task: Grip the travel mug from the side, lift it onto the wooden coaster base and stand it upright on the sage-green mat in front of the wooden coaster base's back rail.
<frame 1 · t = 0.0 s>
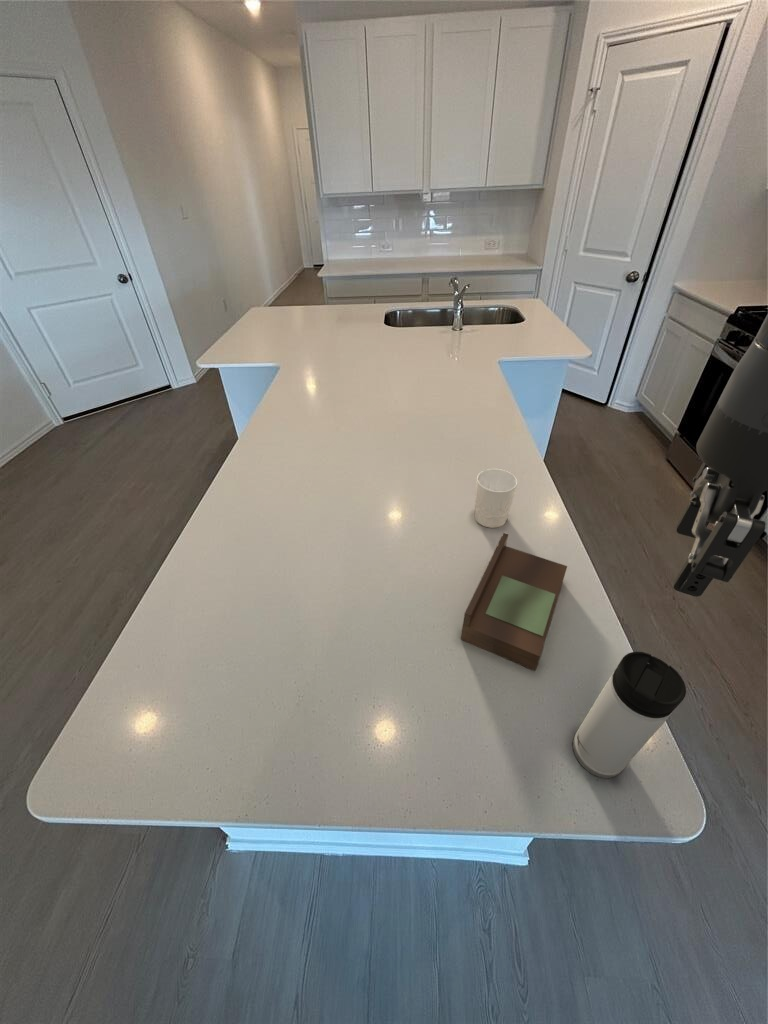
hand: (686, 560, 43), 30 cm above the counter, tool pointing down, fingers open, 8 cm apart
travel mug: (596, 754, 58), on the counter
wooden coaster base: (514, 608, 76), on the counter
white cup: (490, 518, 94), on the counter
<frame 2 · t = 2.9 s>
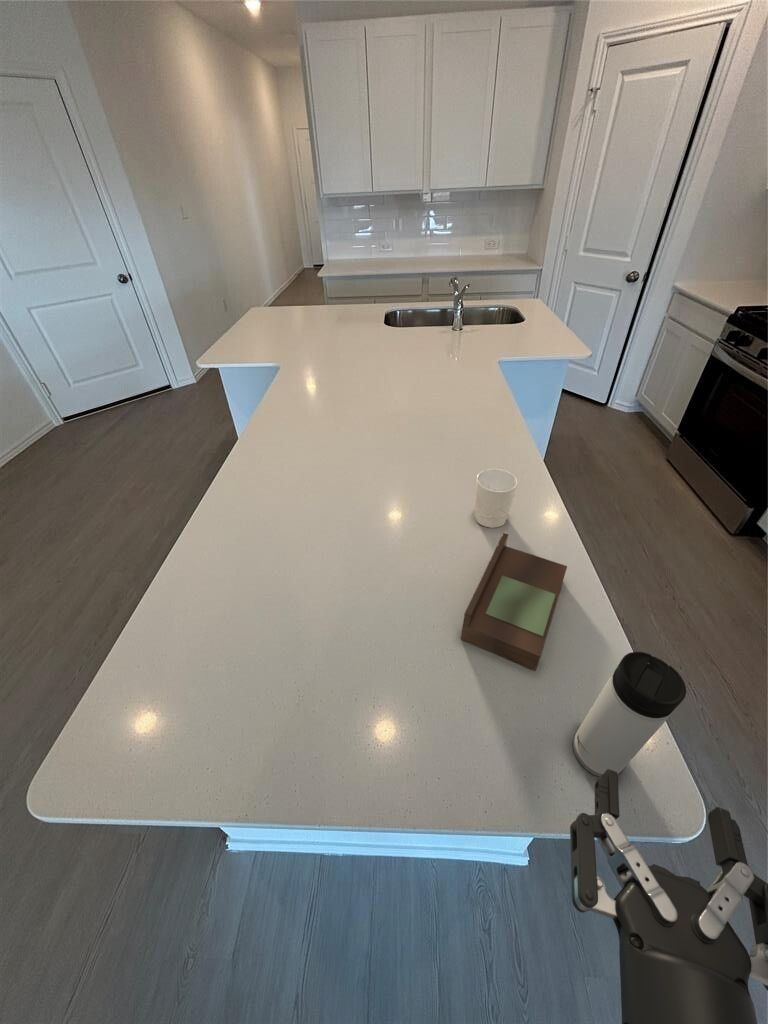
hand: (661, 791, 38), 18 cm above the counter, tool horizontal, fingers open, 8 cm apart
nothing on the counter moved.
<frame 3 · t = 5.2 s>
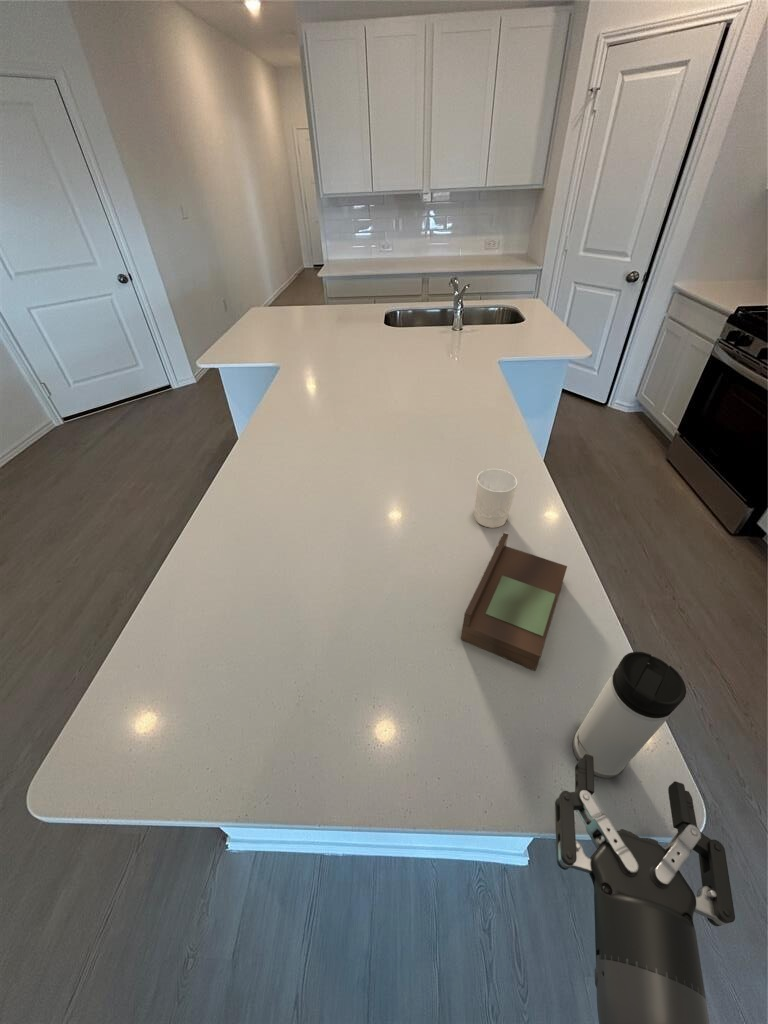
hand: (630, 770, 46), 11 cm above the counter, tool horizontal, fingers open, 8 cm apart
nothing on the counter moved.
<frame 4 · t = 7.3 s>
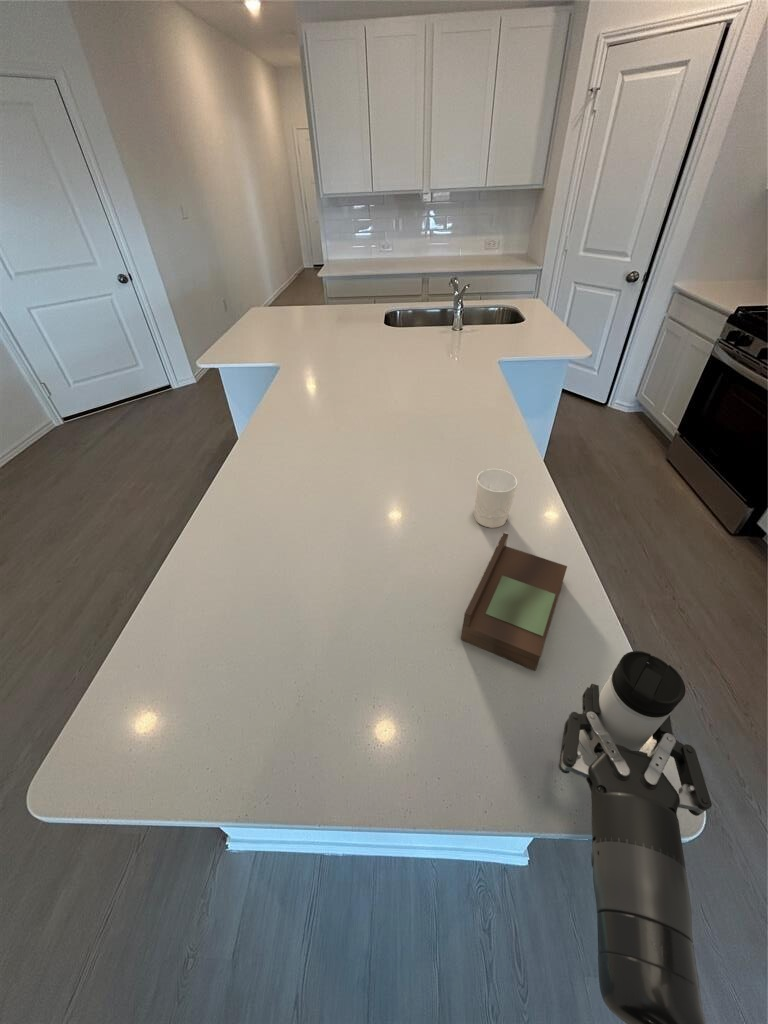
hand: (623, 696, 52), 11 cm above the counter, tool horizontal, fingers closed on travel mug, 6 cm apart
travel mug: (596, 754, 58), on the counter, touching gripper
everything else where it was.
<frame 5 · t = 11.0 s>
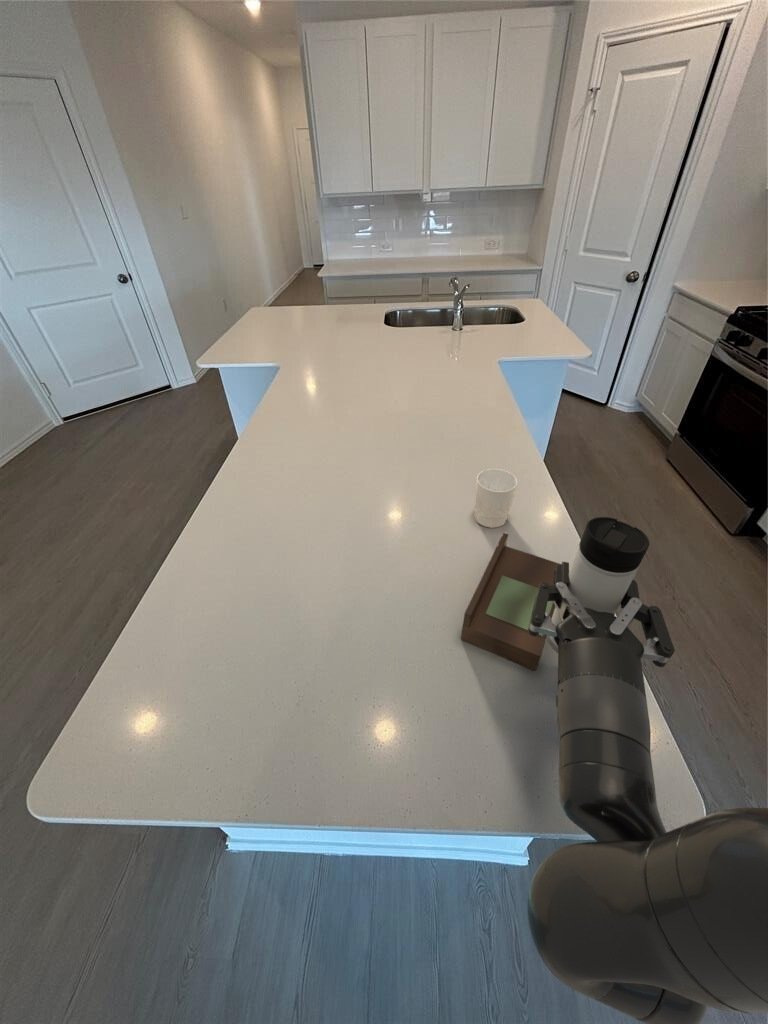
hand: (593, 572, 53), 22 cm above the counter, tool horizontal, fingers closed on travel mug, 6 cm apart
travel mug: (569, 642, 58), point 10 cm above the counter, touching gripper
everything else where it was.
when the fingers open (15 cm above the counter, at t = 14.8 s): travel mug stays where it is, resting on wooden coaster base.
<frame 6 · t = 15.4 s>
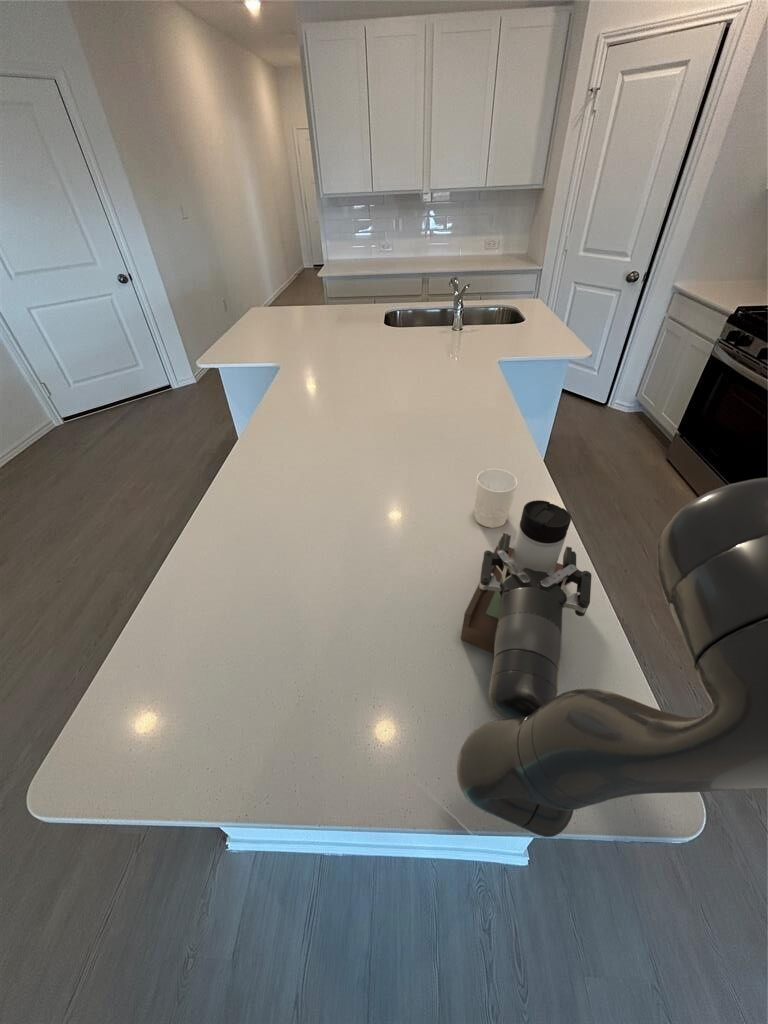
hand: (536, 544, 65), 16 cm above the counter, tool horizontal, fingers open, 8 cm apart
travel mug: (520, 605, 71), point 4 cm above the counter, touching wooden coaster base
everything else where it was.
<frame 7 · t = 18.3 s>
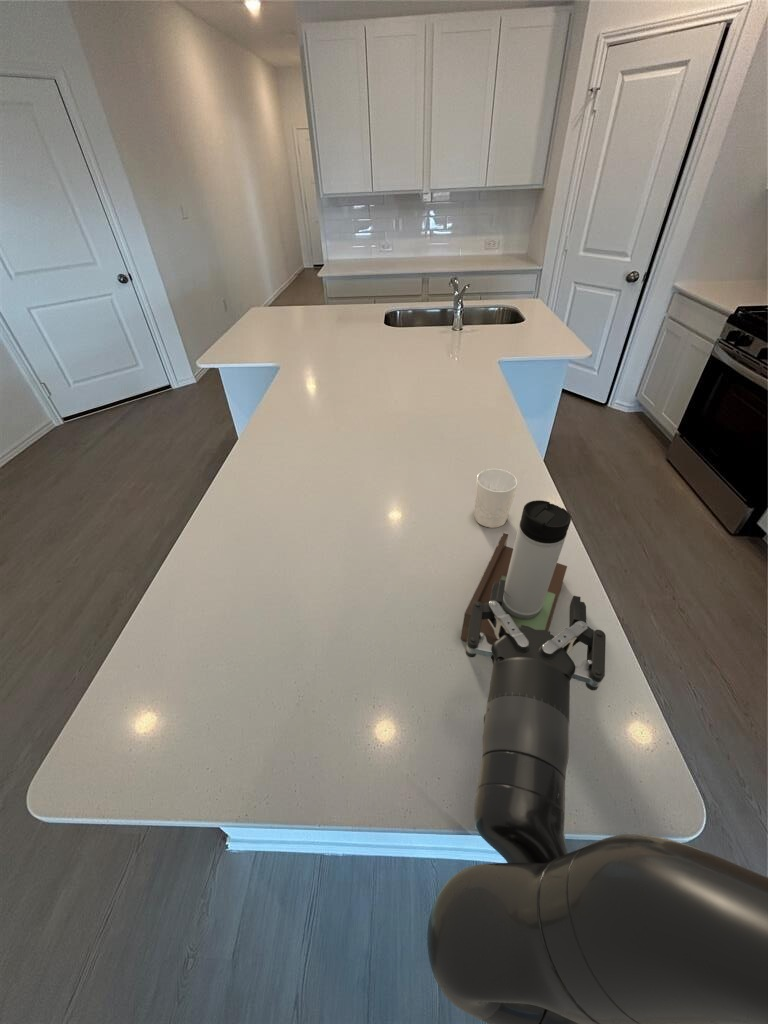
hand: (537, 591, 53), 20 cm above the counter, tool horizontal, fingers open, 8 cm apart
nothing on the counter moved.
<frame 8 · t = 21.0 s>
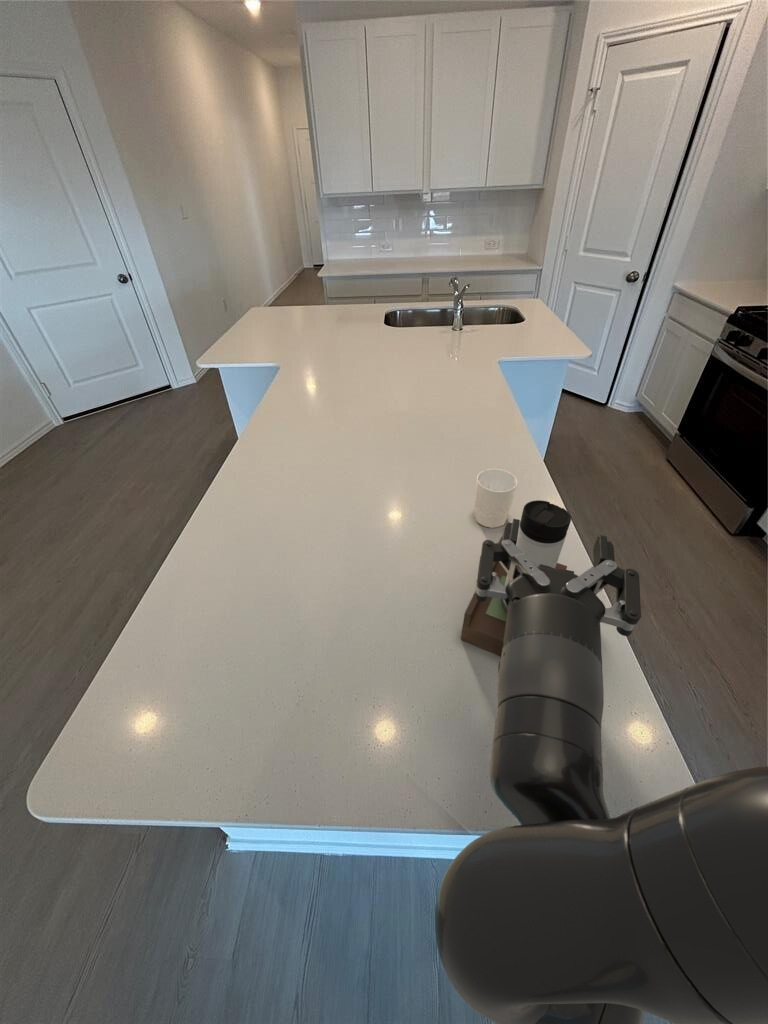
hand: (556, 532, 46), 30 cm above the counter, tool horizontal, fingers open, 8 cm apart
nothing on the counter moved.
at the end: travel mug inside the target area on the wooden coaster base (0.3 cm from its centre), point 4.0 cm above the wooden coaster base's base; travel mug tilted 0°; the gripper is holding nothing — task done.
